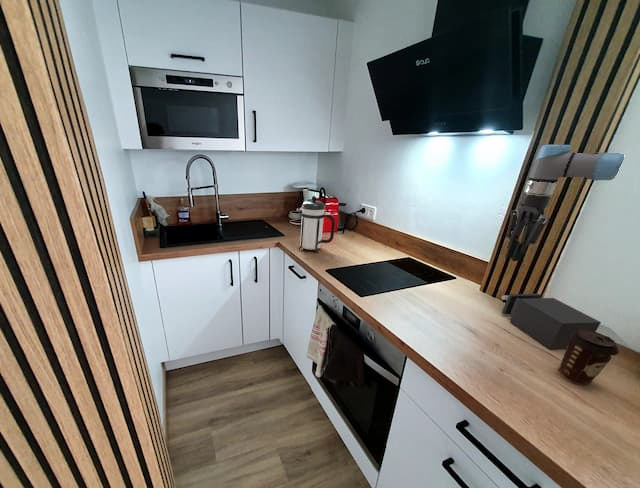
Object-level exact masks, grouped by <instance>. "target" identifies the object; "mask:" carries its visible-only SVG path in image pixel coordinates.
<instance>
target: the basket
mask: <svg viewBox="0 0 640 488" xmlns="http://www.w3.org/2000/svg"><path fill="white" fill-rule="evenodd" d="M528 298H542V295H541V294H540V293H510V294H508V295H507V294H505V295H501V300H503V301H505V303H504V306H503V308H502V311H501V314H502V315H504V316H506V315H507V316H509V317H510V319H511V318H512V316H513V314H514V311H515V309H516V307H517V304H518V302H519V299H528Z"/></svg>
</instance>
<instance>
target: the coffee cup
mask: <svg viewBox="0 0 640 488" xmlns="http://www.w3.org/2000/svg"><path fill="white" fill-rule="evenodd" d="M570 339H571V340H570V341H569V344H568V346H567V349H565V352H564V354H563V357H562V359H561V362H560V364H559V367H558V369H557V373H558V374H559V375H560V376H561V377H562V378H564V379H565V380H567V381H568V382H570V383H573V384H576V385H579V386H589V385H590V384H591V383H592V382H593V381H594V379H595V378H597V376H599V374H600V373H601V372H602V371H603V370H604V369H605V368H606V366H607V365H608V364H609V362H610V361H611V360H612V356H613V357H615V356H617V355H618V354H619V353H620V351H619V347H618V346H617V343H616V342H615V341H616V340H615V339H613V338H611V337H610V336H608V335H604V334H603V333H599V332H597V331H596V332H594V331H591V330H578V331H577V332H576V333H573V334H571V335H570Z"/></svg>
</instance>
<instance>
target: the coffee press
mask: <svg viewBox="0 0 640 488" xmlns="http://www.w3.org/2000/svg"><path fill="white" fill-rule="evenodd" d="M325 210H326V206H325V203H324V202H322V201H319V200H317V196H312V197H311V199H310V200H306V201H304V202H303V203H302V204H301V207H300V208H299V211H301V224H300V225H301V227H300V240H299V241H300V242H299V243H300V244H299V247H298V251H300V252H301V251H303V250H310V251H312V250H313V251H314V253H315V254H318V253H319V249H322V247H323V246H322V244H329V243H331V242H332V241H333V239H334V236H335V228H336V220H335V218H334V216H333V215H331V214H325ZM324 218H326V219H329V220H330V221H331V227H330V236H329V238H328V239H323V230H324Z"/></svg>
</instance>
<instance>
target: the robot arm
mask: <svg viewBox="0 0 640 488" xmlns="http://www.w3.org/2000/svg"><path fill="white" fill-rule="evenodd" d="M570 149H571V150H572V145H571V146H570V144H543V145H542V146H541V147H540V148H539V150H538V152H537V154H536V156H535V157H536V158H535V159H534V162H533V165H532V168H531V171H530V173H529V176H528V179H527V182H526V184H525V187H524V190H523V192H524V193H522V195H521V198H520V200H519V205H520V206H519V207H518V208H517V209H512V210H510V212H509V214H510V215H509V216H510V218H509V221H508V226H507V230H506V233H505V237H506V238H508V239H509V241H508V245H507V251H506V253H505V256H504V258H506V259H511V261H512V262H520V261H521V259H522V257H523V254H525V253H526V251H527V248H528V246H529V245H536V242H537V240H538V239H539V237H540V235H541V234H542V231H543V230H544V228H545V226H546V225H547V224H548V223H549V222H550V221H551V218H550V217H546V216H545V209H546V208H548V206H549V205H550V202H551V199H552V197H551V195H554V192H555V189H556V187H557V184H558V182H557V181H559V179H560V178H565V177H566V178H568V177H571V178H570V179H573V178H572V177H582V176H583V177H586V178H588V179H587V180H593V181H613V180H614V179H615V178H616V177H615V176H616V175H617V173H618V171H619V168H620V166H621V164H622V162H623V160H624V158H625V155H624V154H620V153H608V152H597V153H598V154H595V155H591V154H585V153H574V152H575V151H571V152H570ZM571 154H572V155H571ZM568 160H569V161H568ZM567 162H568V163H567ZM565 167H566V168H565ZM563 173H564V174H563ZM558 178H559V179H558ZM537 181H540V182H537ZM551 182H556V183H557V184H556V183H551ZM555 186H556V187H555ZM553 191H554V192H553ZM549 195H550V197H551V198H550V197H549ZM549 201H550V202H549ZM517 216H519V217H518V219H517ZM516 221H517V224H516ZM524 226H525V227H524ZM523 228H524V229H523ZM522 230H523V231H522ZM511 231H513V232H512V234H511ZM521 235H522V236H521ZM520 236H521V239H520ZM519 239H520V240H519Z"/></svg>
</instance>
